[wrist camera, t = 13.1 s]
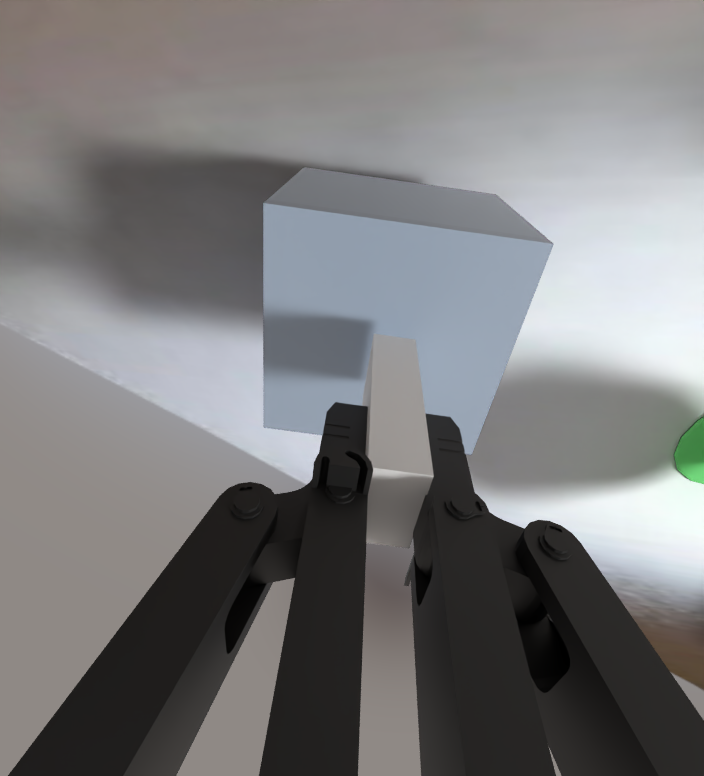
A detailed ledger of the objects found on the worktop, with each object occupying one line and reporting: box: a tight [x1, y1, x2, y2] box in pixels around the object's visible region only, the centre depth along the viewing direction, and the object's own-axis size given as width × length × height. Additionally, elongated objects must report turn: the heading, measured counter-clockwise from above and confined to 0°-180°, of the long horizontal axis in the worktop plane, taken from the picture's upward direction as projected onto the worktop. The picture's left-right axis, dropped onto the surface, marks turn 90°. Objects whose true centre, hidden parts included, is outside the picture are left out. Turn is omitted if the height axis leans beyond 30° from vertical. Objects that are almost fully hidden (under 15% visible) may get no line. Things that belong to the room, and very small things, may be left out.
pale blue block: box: [263, 167, 553, 455], centre depth 20 cm, size 10×10×9 cm
